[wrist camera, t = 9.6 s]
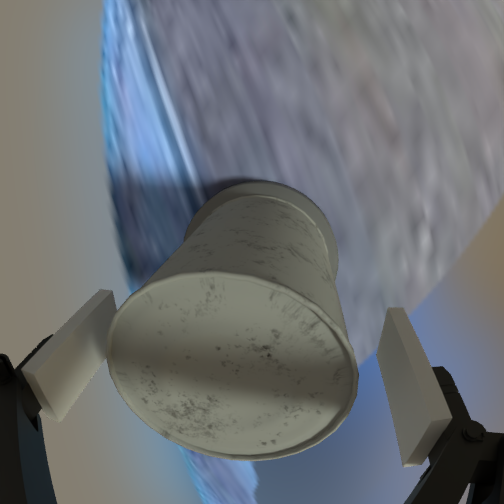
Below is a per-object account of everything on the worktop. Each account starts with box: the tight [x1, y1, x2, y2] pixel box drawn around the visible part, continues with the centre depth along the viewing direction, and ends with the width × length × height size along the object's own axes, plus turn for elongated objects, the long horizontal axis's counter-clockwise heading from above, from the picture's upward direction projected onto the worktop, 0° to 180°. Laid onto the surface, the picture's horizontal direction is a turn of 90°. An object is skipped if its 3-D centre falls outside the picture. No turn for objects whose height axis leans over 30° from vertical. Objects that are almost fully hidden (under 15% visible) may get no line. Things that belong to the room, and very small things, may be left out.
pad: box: [184, 181, 338, 281], centre depth 23 cm, size 11×11×2 cm
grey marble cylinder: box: [106, 195, 359, 461], centre depth 17 cm, size 10×10×12 cm
